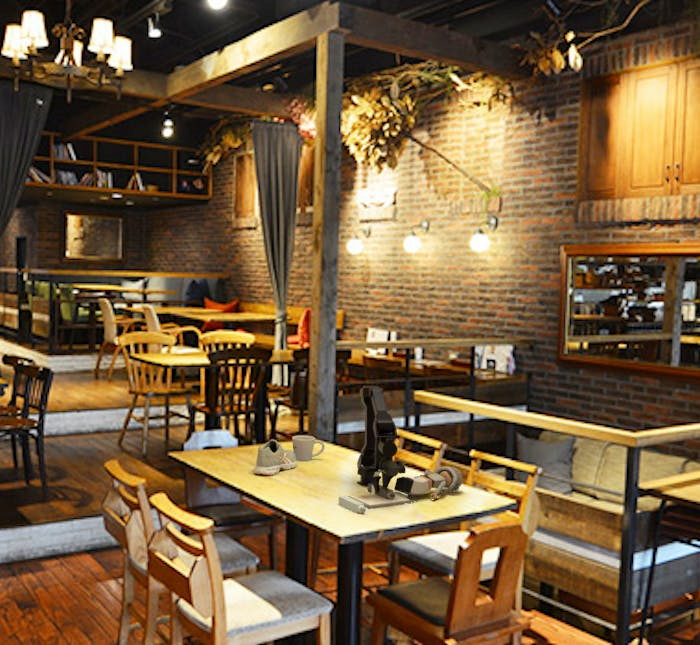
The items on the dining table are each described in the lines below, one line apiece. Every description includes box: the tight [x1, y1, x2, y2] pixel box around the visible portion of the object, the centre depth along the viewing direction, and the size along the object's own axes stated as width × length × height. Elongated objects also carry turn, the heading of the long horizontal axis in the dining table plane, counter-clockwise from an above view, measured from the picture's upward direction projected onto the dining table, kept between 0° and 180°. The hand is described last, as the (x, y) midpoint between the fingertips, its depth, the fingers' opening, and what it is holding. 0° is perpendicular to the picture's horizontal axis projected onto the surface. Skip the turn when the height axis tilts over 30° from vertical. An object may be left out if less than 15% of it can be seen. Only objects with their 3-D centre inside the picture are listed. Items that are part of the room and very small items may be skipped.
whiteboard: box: [348, 490, 415, 510], centre depth 302 cm, size 20×15×2 cm
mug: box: [291, 434, 325, 462], centre depth 366 cm, size 10×15×10 cm
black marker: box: [367, 483, 395, 499], centre depth 305 cm, size 14×3×3 cm, turn 33°
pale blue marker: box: [337, 495, 367, 514], centre depth 289 cm, size 14×3×3 cm, turn 33°
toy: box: [393, 465, 463, 500], centre depth 313 cm, size 14×11×30 cm
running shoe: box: [253, 439, 297, 477], centre depth 344 cm, size 11×30×14 cm, turn 161°
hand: (380, 492), depth 306 cm, fingers closed on black marker, 3 cm apart
